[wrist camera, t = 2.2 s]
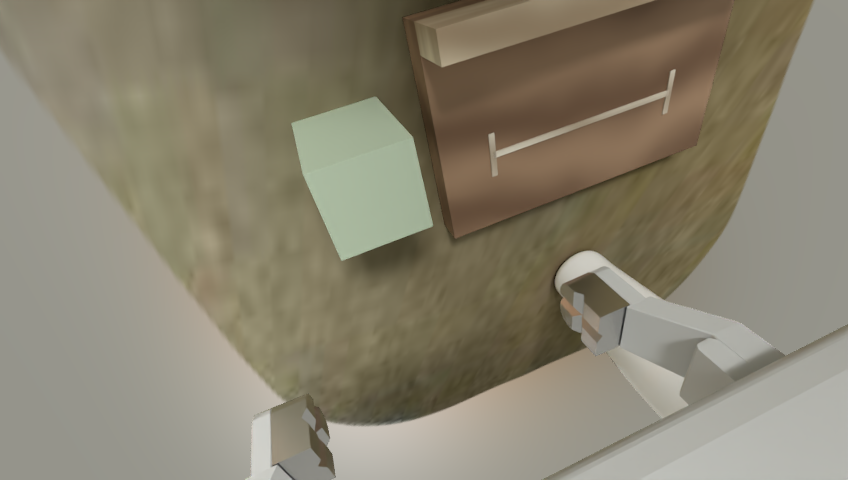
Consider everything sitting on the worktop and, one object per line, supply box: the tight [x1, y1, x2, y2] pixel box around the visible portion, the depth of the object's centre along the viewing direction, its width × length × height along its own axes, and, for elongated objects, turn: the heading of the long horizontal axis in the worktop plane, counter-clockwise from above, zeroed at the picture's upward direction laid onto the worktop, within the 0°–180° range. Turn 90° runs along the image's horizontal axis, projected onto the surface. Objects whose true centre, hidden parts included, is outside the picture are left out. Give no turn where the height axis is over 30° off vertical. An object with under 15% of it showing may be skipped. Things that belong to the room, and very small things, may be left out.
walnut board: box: [402, 0, 734, 239], centre depth 25 cm, size 14×21×5 cm, turn 102°
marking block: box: [292, 96, 433, 261], centre depth 21 cm, size 6×5×7 cm
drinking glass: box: [555, 251, 688, 418], centre depth 32 cm, size 7×7×15 cm
